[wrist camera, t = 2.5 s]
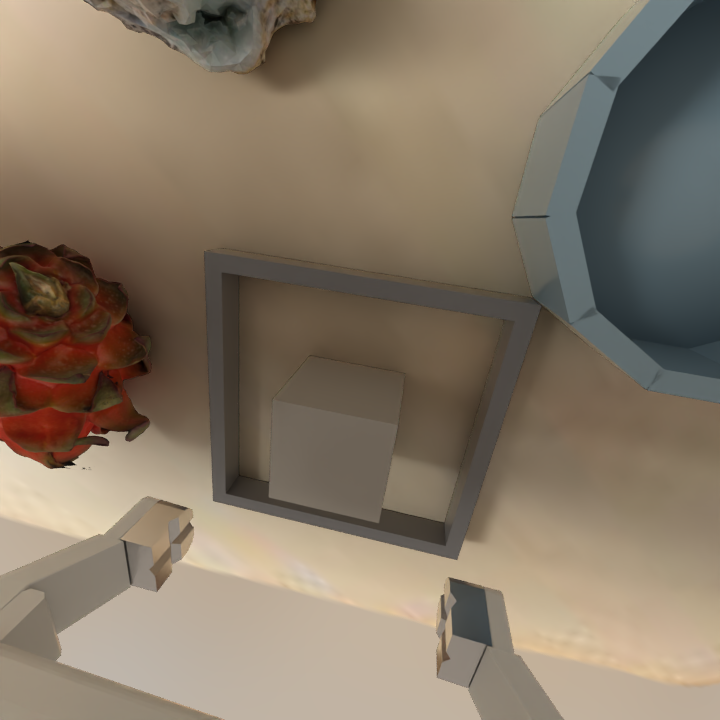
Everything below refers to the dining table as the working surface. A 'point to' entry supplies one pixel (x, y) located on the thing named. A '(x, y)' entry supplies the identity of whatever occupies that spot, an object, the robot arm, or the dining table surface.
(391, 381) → the pebble block
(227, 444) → the tray
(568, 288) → the bowl
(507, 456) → the dining table surface
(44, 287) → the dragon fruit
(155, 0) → the mineral specimen
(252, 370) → the dining table surface
